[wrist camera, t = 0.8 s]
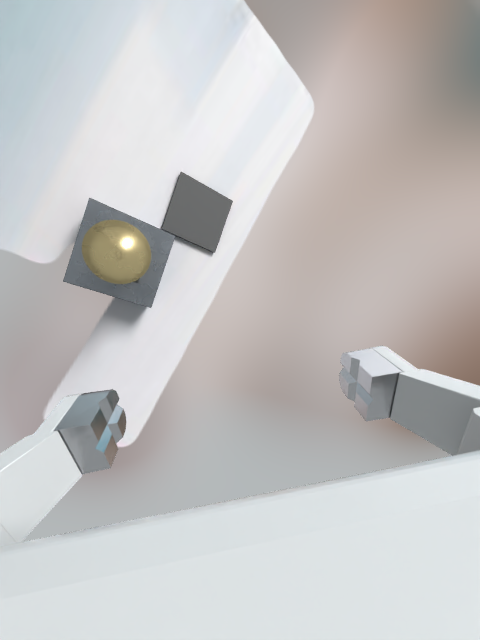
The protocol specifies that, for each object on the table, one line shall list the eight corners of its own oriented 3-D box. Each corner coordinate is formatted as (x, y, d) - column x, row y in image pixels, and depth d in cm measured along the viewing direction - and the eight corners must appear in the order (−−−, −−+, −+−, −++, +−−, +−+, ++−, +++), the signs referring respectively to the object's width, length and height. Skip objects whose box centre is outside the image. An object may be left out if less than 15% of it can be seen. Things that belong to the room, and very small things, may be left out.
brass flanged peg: (93, 270, 37) (73, 270, 25) (106, 228, 37) (93, 207, 25) (139, 285, 40) (140, 292, 28) (152, 246, 40) (159, 236, 28)
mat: (161, 229, 41) (162, 228, 41) (180, 172, 41) (181, 171, 40) (214, 252, 46) (215, 252, 45) (231, 201, 45) (232, 201, 45)
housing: (71, 280, 38) (63, 281, 33) (95, 206, 37) (89, 197, 33) (149, 303, 43) (151, 307, 38) (171, 239, 42) (175, 236, 38)
